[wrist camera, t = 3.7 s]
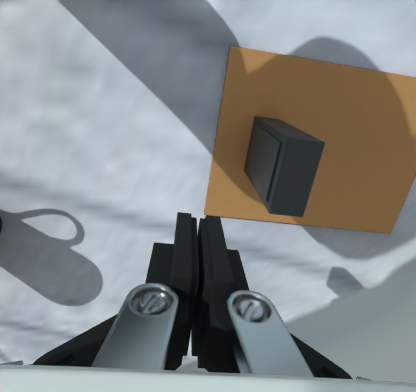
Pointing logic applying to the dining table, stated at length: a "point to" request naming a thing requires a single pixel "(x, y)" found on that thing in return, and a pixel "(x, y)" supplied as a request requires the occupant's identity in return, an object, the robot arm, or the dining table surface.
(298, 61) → the cork mat
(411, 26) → the dining table surface
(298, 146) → the block
